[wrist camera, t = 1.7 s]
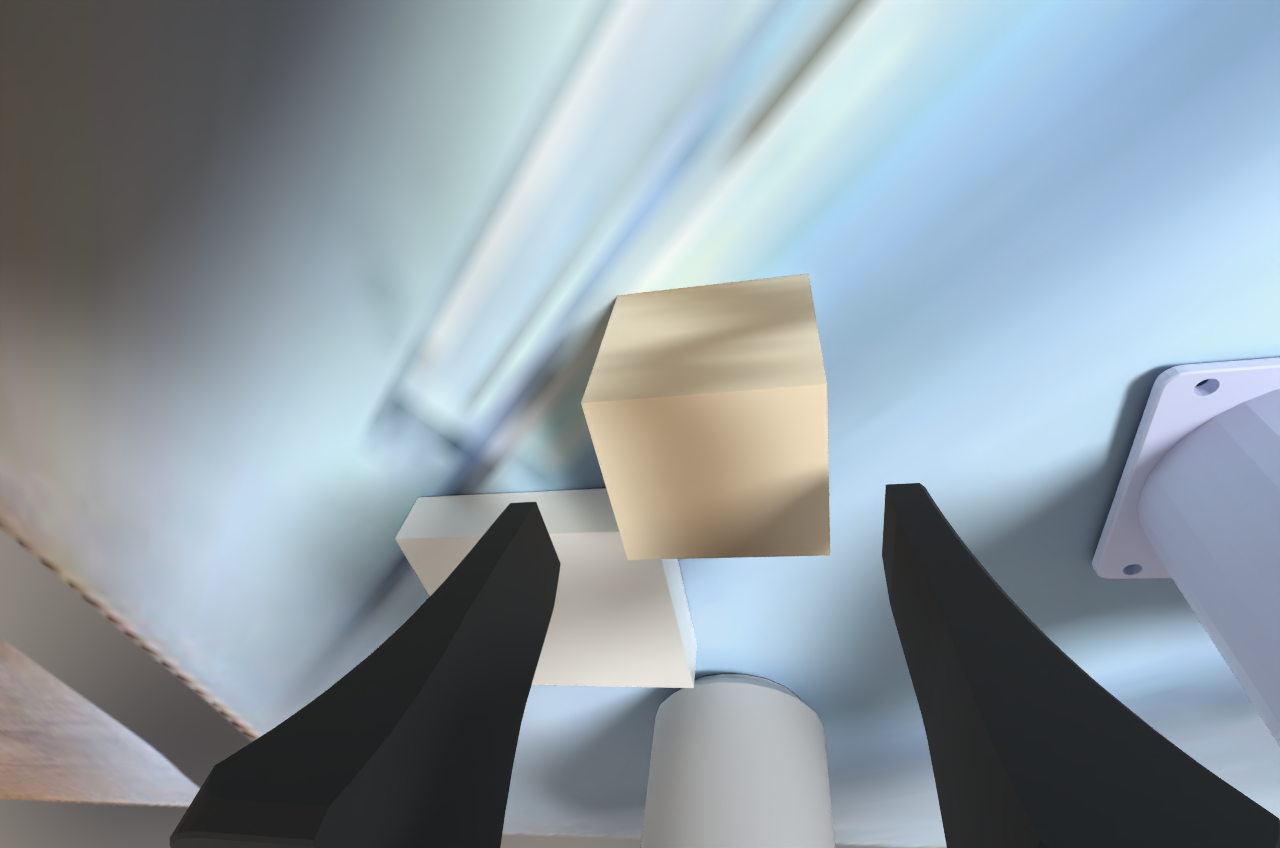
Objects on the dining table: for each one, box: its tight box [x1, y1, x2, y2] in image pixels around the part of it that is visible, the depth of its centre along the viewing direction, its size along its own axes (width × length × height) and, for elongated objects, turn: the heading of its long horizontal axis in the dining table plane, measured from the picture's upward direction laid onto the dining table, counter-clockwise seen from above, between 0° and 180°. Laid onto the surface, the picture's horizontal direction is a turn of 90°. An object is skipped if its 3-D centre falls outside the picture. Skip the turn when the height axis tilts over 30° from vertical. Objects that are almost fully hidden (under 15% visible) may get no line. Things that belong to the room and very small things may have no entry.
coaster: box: [395, 488, 697, 688], centre depth 24 cm, size 9×9×2 cm
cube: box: [581, 274, 830, 560], centre depth 16 cm, size 5×5×5 cm
